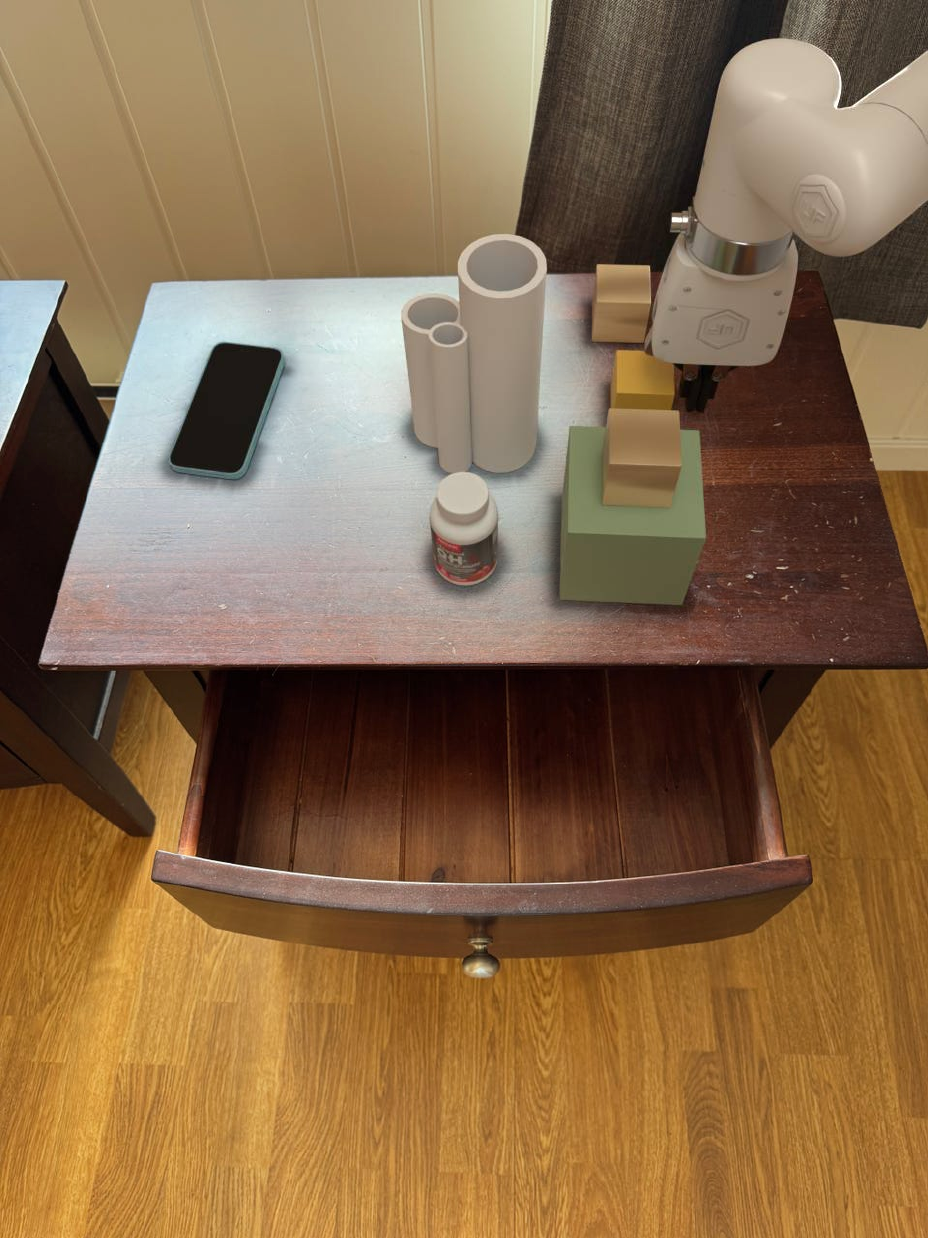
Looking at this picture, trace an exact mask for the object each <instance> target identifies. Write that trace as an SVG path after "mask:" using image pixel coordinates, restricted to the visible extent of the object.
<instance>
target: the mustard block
mask: <svg viewBox="0 0 928 1238" xmlns="http://www.w3.org/2000/svg"><path fill="white" fill-rule="evenodd" d="M675 388H676V387H675V365H674V364H673V363H669V362H664V361H661V360H659V359H657V358H656V357H654V356H650V355H647V354H645V350H624V349H622V350H621V349H617V350H616V351H615V358H614V363H613V371H612V378H611V383H610V408H616V409H646V410H672V409H673V404H674V400H675V395H676V389H675Z"/></svg>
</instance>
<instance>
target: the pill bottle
mask: <svg viewBox="0 0 928 1238" xmlns="http://www.w3.org/2000/svg"><path fill="white" fill-rule="evenodd" d="M429 525H430V526H429V527H430V533H431V534H430V535H431V536H430V537H431V545H432V553H433V554H432V555H433V561H434V565H435V569H436V570H437V572H438V573H439V575H440V576H441V577H442V578H443V579H444V580H446V581H447V582H449V583H451V584H453V585H458V586H473V585H477V584H479V583H482V582H483V581H485V580H487V579H488V578H490V576H491V575H492V574H493V573H494V571H495V569H496V566H497V564H498V555H499V553H498V552H499V551H498V547H499V541H498V540H499V509H498V506H497V503H496V501H495V499H494V497H493V496H492V495H491V494H490V491H489V486H488V484H487V483H486V481H485V480H484V479H483V478H482V477H481V476H479V475H478V474H475V473H473V472H469V471H465V472H457V473H453V474H452V473H449V474H448V475H447V476H445V477H444V478H443V479H442V480H441V481H440V482H439V484H438V486H437V489H436V497H435V498H434V500H433V501H432V504H431V506H430V509H429Z"/></svg>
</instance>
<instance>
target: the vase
mask: <svg viewBox="0 0 928 1238" xmlns="http://www.w3.org/2000/svg"><path fill="white" fill-rule="evenodd" d="M547 272H548V266H547V258H546V256H545V253H544V252H543V250H542V249H541V247H539V246H538V245H537V244H536V243H535V242H533V241H531V240H530V239H527V238H526V237H523V236H520V235H516V234H509V233H499V234H497V233H496V234H490V235H487V236H484V237H480V238H478V239H477V240H474V241H473V242H471V243H469V244H468V245H467V246H466V247H465V249H464V250H463V251H462V252H461V254H460V256H459V259H458V261H457V279H458V280H457V281H458V299H459V300H458V299H456V298H455V297H452V296H450V295H449V294H443V293H438V292H436V293H424V294H420V295H417V296H415V297H412V298H411V299H409V300H407V302H406V303H404V305H402V306H403V307H402V308H401V310H400V318H401V325H402V326H401V327H402V334H403V344H404V352H405V361H406V370H407V378H408V380H407V381H408V388H409V396H410V405H411V413H412V421H413V430H414V434H415V436H416V438H417V440H419V441H420V442H421V443H423V445H426V446H427V447H430V448H437V450H438V463H439V466H440V468H441V469H442V470H443V471H444V472H446V473H448V474H453V473H457V472H468V471H469V469H471V467H472V465H473V464H474V465H475V466H476V467H479V468H480V469H482V470H484V471H486V472H490V473H494V474H503V473H505V474H506V473H511V472H514V471H517V470H519V469H521V468H523V467H524V466H525V465H527V464H528V463H529V462H530V460H531V459H532V458H533V456H534V455H535V451H536V448H537V437H538V421H539V420H538V419H539V405H540V390H541V389H540V387H541V371H542V355H543V340H544V324H545V323H544V322H545V321H544V320H545V305H546V288H547V274H548V273H547Z"/></svg>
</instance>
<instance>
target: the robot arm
mask: <svg viewBox="0 0 928 1238" xmlns="http://www.w3.org/2000/svg"><path fill="white" fill-rule="evenodd" d="M841 93H842V78H841V74H840V70H839V68H838V66H837V64H836V62H835V61H834V59H833V58H832V57H831V56H830V55H828V54H827V53H826V52H825V51H824V50H822V49H821V48H819V47H818V46H815V45H814V44H811V43H809V42H805V41H803V40H798V39H793V38H781V37H780V38H779V37H777V38H769V39H763V40H760V41H756V42H754V43H751V44H749V45H746V46H745V47H744V48H742V49H740V50H739V51H738V52H737V53H736V54H735V55H734V56H733V57H732V58H731V59H730V60H729V61H728V63H727V65H726V66H725V67H724V70H723V71H722V74H721V77H720V81H719V84H718V89H717V93H716V98H715V102H714V107H713V111H712V116H711V120H710V125H709V130H708V135H707V139H706V143H705V148H704V153H703V158H702V163H701V167H700V172H699V177H698V181H697V185H696V189H695V195H694V196H692V199H691V204H690V206H688V207H687V209H686V210H681V212H670V217H669V224H668V225H669V226H668V233H678V235H677V237H676V238H675V241H674V243H673V245H672V248H671V250H670V252H669V255H668V257H667V259H666V263H665V265H664V267H663V271H662V274H661V277H660V281H659V284H658V287H657V291H656V294H655V297H654V303H653V307H652V312H651V321H652V325H651V327H650V329H649V331H648V333H646V334H647V335H645V339H644V343H643V344H644V347H643V348H644V349H643V351H645V354H647V355H650V356H654V357H656V358H657V359H659V360H661V361H664V362H669V363H673V364H674V367H676V368H677V370H679V371H680V372H681V375H680V380H679V384H678V398H679V399H684V403H685V405H684V407H685V412H686V413H693V412H697V413H699V414H704V413H705V411H706V407H707V404H708V401H709V400H714V399H715V396H716V392H717V390H718V386H719V382H722V381H724V380H725V379H726V377H727V376H728V374H729V373H730V372H732V371H733V370H735V369H737V368H739V367H756V366H762V365H766V364H769V363H770V362H772V361H773V360H774V359H775V358H776V355H777V353H778V351H779V348H780V346H781V343H782V339H783V336H784V333H785V329H786V325H787V321H788V317H789V314H790V309H791V305H792V300H793V295H794V291H795V285H796V281H797V279H796V278H797V273H798V266H799V265H798V263H799V253H798V250H797V246H796V242H795V240H794V236H795V235H796V236H797V237H798V238H799V239H800V240H802V241H803V242H804V243H805V244H806V245H808V246H809V247H810V248H811V249H812V250H815V251H816V252H819V253H822V254H823V255H826V256H830V257H836V258H845V257H851V256H855V255H858V254H860V253H862V252H864V251H866V250H868V249H869V248H871V247H872V246H874V245H875V244H877V243H878V242H879V241H880V240H882V239H883V238H884V237H886V236H887V235H888V234H889V233H890V232H891V231H893V230H894V229H895V228H897V226H898V225H900V224H901V223H903V222H904V221H905V220H906V219H907V218H908V217H910V216H911V215H912V214H913V213H915V212H916V211H917V210H918V209H919V208H920V207H921V206H923V205H924V204H926V202H927V201H928V50H926V51H925V52H924V53H922V54H921V55H920V56H919V57H917V58H916V59H915V60H914V61H912V62H911V63H910V64H908V65H907V66H906V67H905V68H903V69H902V70H900V71H899V72H898V73H896V74H895V75H893V76H892V77H891V78H889V79H888V80H886V81H885V82H884V83H882V84H881V85H879V86H878V87H876V88H875V89H874V90H872V91H871V92H869V93H867V95H865V96H864V97H863V98H861V99H860V100H858V101H857V102H855V104H853V105H851V106H846V107H842V108H840V107H839V108H838V105H839V101H840V97H841Z"/></svg>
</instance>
